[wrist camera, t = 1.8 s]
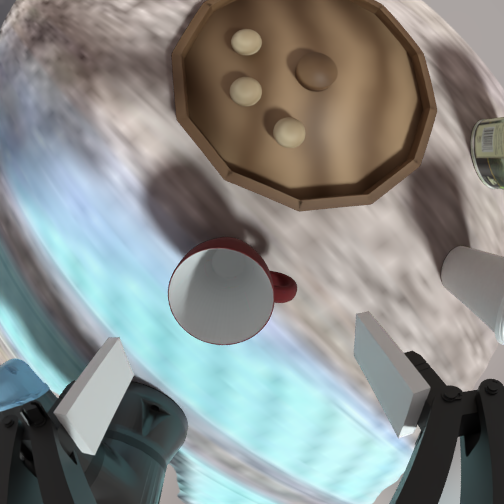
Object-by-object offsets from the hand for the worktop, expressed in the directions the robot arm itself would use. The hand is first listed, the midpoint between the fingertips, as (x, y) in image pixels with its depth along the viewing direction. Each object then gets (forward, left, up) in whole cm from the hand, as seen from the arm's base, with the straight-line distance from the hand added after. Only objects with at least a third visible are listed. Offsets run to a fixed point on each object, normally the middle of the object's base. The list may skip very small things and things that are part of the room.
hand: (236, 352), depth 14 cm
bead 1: (+3, +23, -15) cm, 28 cm away
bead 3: (+6, +13, -15) cm, 21 cm away
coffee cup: (+29, -5, -17) cm, 34 cm away
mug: (0, 0, -17) cm, 17 cm away
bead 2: (+3, +17, -15) cm, 23 cm away
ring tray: (+10, +19, -17) cm, 27 cm away
